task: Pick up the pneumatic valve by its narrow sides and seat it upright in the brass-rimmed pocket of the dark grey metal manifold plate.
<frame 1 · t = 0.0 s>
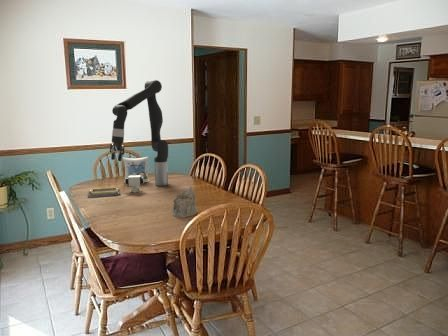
hand: (116, 160, 252), 22 cm above the table, tool pointing down, fingers open, 8 cm apart
pneumatic valve: (135, 192, 259), on the table
pouch: (136, 182, 287), on the table
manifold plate: (104, 193, 254), on the table
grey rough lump: (182, 212, 213), on the table
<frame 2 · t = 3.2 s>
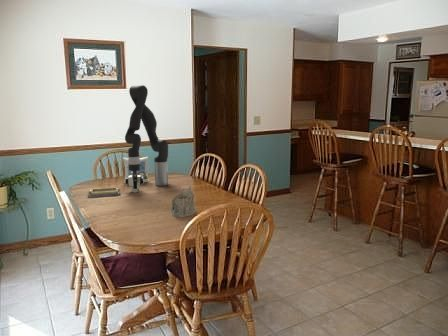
hand: (135, 187, 259), 3 cm above the table, tool pointing down, fingers closed on pneumatic valve, 5 cm apart
pneumatic valve: (135, 192, 259), on the table, touching gripper
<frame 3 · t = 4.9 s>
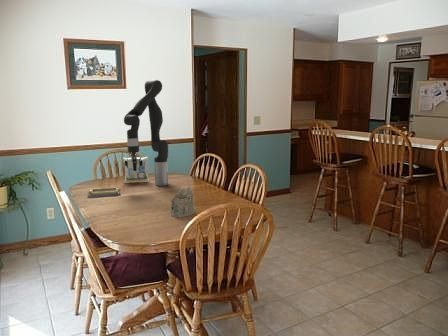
hand: (134, 169, 257), 15 cm above the table, tool pointing down, fingers closed on pneumatic valve, 5 cm apart
pneumatic valve: (134, 174, 257), point 12 cm above the table, touching gripper
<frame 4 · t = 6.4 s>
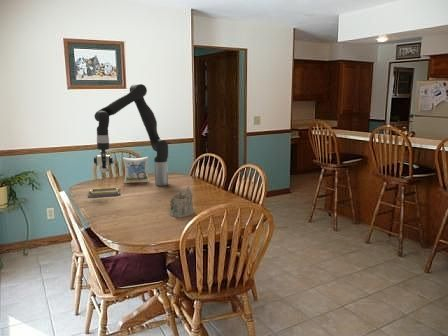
hand: (104, 167, 250), 18 cm above the table, tool pointing down, fingers closed on pneumatic valve, 5 cm apart
pneumatic valve: (104, 172, 251), point 15 cm above the table, touching gripper
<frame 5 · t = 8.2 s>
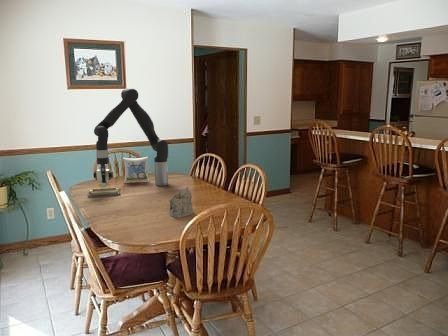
hand: (104, 181, 252), 8 cm above the table, tool pointing down, fingers closed on pneumatic valve, 5 cm apart
pneumatic valve: (104, 186, 253), point 5 cm above the table, touching gripper
when the fingers open (6 cm above the table, at t = 9.6 s): pneumatic valve drops 1 cm, resting on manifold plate.
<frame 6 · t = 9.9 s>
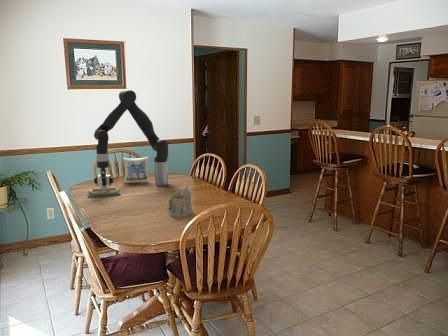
hand: (104, 184, 252), 6 cm above the table, tool pointing down, fingers open, 7 cm apart
pneumatic valve: (104, 191, 254), point 1 cm above the table, touching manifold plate
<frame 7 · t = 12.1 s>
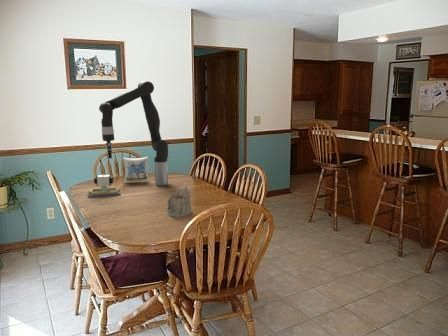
hand: (110, 157, 256), 24 cm above the table, tool pointing down, fingers open, 8 cm apart
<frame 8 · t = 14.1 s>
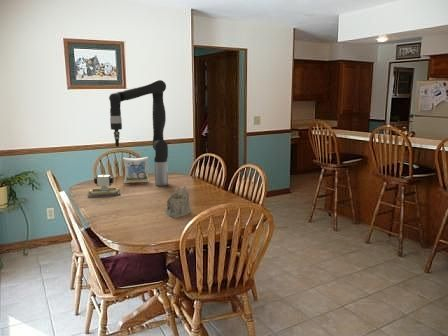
hand: (117, 145, 265), 30 cm above the table, tool pointing down, fingers open, 8 cm apart
at the end: pneumatic valve 0.3 cm off-centre on the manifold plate, point 1.3 cm above the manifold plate's base; pneumatic valve tilted 0°; the gripper is holding nothing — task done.
